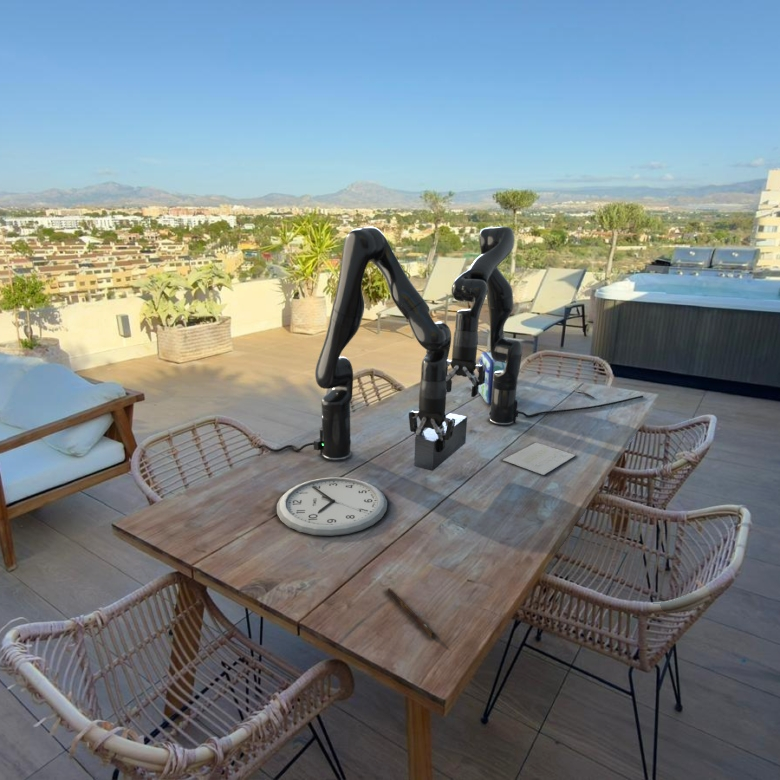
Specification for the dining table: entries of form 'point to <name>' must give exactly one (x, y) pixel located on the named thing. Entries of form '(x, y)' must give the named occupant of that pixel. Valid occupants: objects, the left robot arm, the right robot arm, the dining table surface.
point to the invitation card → (539, 458)
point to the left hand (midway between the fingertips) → (430, 448)
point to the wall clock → (331, 506)
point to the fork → (581, 391)
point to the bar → (428, 444)
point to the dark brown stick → (411, 612)
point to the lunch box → (489, 375)
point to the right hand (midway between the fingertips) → (461, 394)
